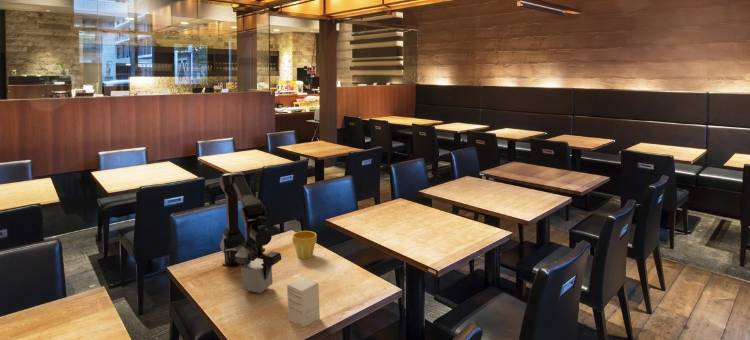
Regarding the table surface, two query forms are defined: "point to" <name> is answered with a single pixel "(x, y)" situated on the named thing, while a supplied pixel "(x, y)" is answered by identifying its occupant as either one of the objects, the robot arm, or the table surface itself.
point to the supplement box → (303, 301)
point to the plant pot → (304, 243)
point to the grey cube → (255, 277)
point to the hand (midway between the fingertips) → (256, 277)
